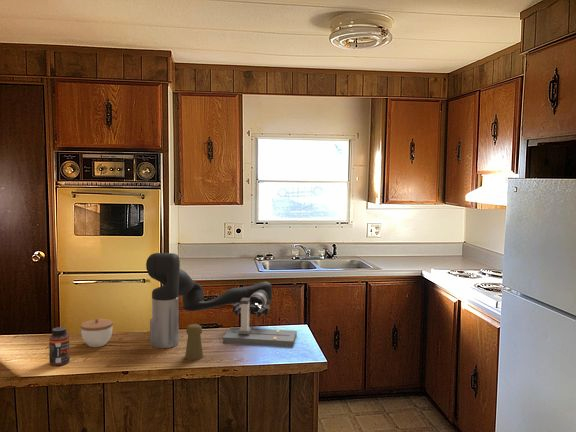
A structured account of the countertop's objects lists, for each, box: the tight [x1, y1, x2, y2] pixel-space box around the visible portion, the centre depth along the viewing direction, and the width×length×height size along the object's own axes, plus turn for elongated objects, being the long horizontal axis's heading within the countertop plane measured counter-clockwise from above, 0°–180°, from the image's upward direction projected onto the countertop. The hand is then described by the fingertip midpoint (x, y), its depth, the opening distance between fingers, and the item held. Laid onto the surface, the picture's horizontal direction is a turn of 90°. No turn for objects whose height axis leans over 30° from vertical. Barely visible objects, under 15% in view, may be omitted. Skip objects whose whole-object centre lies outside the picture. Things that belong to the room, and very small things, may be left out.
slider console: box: [222, 326, 298, 348], centre depth 180 cm, size 26×12×2 cm, turn 83°
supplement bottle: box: [48, 326, 71, 367], centre depth 154 cm, size 6×6×11 cm
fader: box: [238, 298, 253, 334], centre depth 180 cm, size 4×5×13 cm
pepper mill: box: [184, 323, 204, 361], centre depth 161 cm, size 6×6×11 cm
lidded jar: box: [80, 318, 114, 348], centre depth 172 cm, size 11×11×9 cm
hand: (247, 313), depth 184 cm, fingers open, 8 cm apart
